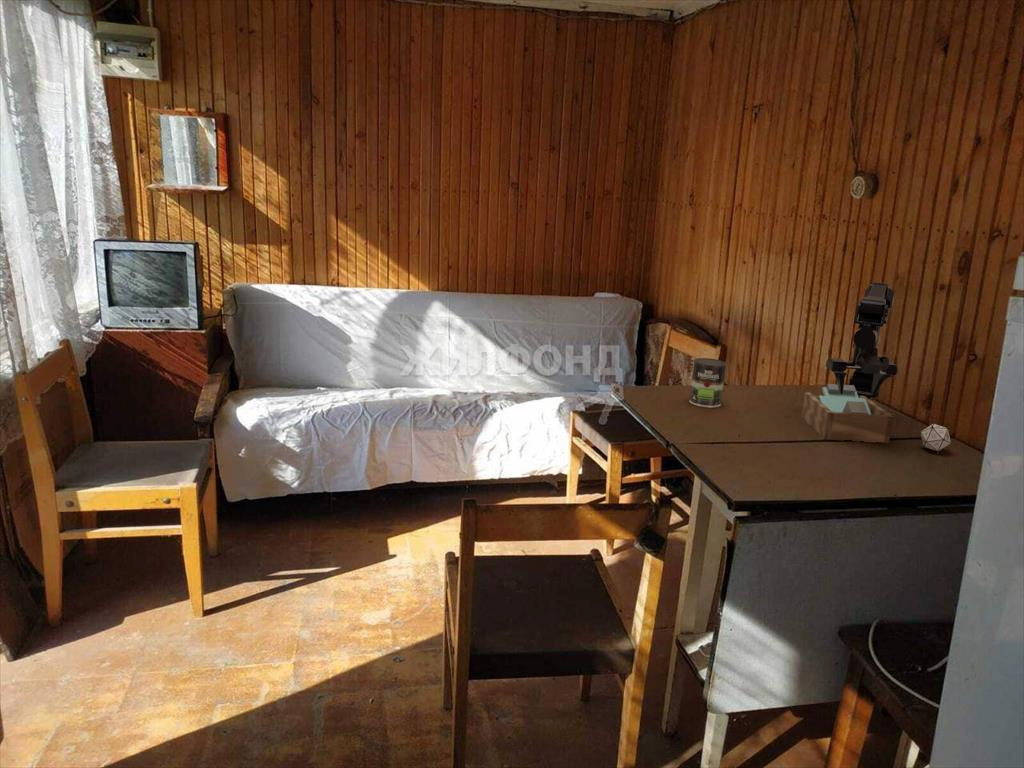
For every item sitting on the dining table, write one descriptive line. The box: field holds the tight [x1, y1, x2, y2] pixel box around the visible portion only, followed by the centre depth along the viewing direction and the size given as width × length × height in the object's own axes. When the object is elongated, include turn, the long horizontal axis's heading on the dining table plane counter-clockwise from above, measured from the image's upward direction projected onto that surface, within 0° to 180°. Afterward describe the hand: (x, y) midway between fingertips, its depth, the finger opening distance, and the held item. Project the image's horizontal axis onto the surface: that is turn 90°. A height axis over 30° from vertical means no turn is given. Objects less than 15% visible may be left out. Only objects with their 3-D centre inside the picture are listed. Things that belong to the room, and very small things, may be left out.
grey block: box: [843, 401, 868, 414], centre depth 230 cm, size 5×5×6 cm
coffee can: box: [688, 357, 728, 409], centre depth 255 cm, size 10×10×14 cm
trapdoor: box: [818, 383, 871, 414], centre depth 236 cm, size 18×14×3 cm
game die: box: [917, 420, 955, 455], centre depth 222 cm, size 9×8×10 cm
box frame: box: [801, 392, 895, 444], centre depth 236 cm, size 22×18×8 cm
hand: (856, 394), depth 229 cm, fingers open, 9 cm apart
